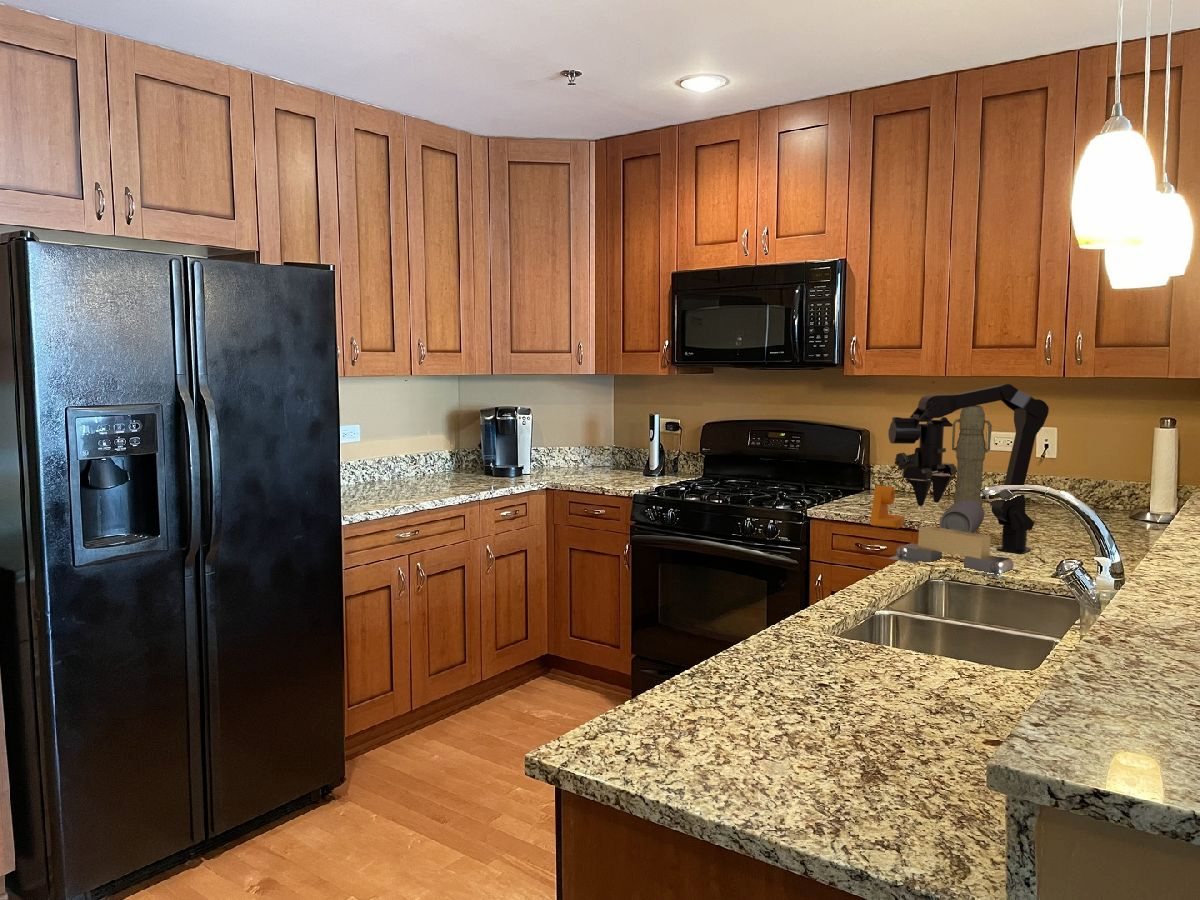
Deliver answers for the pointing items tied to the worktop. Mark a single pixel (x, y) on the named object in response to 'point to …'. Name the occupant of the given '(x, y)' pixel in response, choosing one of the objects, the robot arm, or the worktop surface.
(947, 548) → the tan wooden block
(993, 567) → the pair of grey blocks
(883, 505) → the bracket
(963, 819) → the worktop surface
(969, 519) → the bluetooth speaker
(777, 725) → the worktop surface
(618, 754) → the worktop surface
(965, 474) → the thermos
